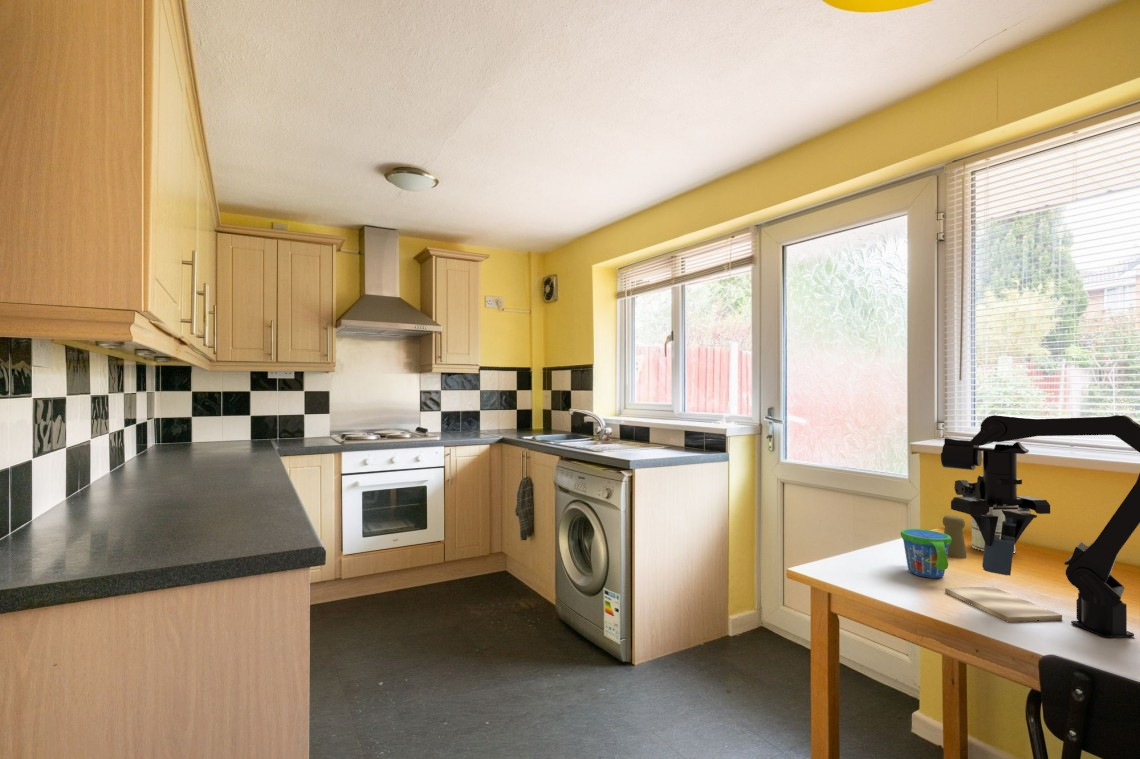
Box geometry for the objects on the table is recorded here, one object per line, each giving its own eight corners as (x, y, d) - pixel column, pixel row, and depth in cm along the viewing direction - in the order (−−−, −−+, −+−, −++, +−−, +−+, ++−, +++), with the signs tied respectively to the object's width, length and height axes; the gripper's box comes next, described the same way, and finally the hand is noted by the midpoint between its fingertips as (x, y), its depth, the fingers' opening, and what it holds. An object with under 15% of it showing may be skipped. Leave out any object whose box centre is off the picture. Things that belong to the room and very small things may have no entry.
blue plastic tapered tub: (891, 562, 147) (891, 524, 147) (936, 566, 144) (936, 527, 144) (913, 582, 132) (913, 540, 132) (964, 587, 129) (963, 543, 129)
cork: (935, 553, 156) (935, 514, 156) (949, 550, 158) (949, 512, 158) (958, 559, 150) (958, 519, 150) (971, 556, 153) (971, 517, 153)
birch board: (1062, 620, 111) (1062, 615, 111) (1008, 622, 110) (1008, 617, 110) (992, 590, 127) (992, 586, 127) (945, 592, 125) (945, 588, 125)
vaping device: (1013, 576, 116) (1020, 520, 117) (985, 571, 117) (991, 515, 118) (1007, 573, 119) (1013, 518, 119) (979, 568, 120) (985, 513, 120)
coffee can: (969, 542, 167) (969, 496, 167) (1012, 548, 161) (1012, 500, 162) (972, 551, 158) (972, 502, 158) (1018, 557, 153) (1018, 506, 153)
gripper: (1005, 467, 128) (1005, 534, 127) (931, 467, 126) (931, 536, 125) (1052, 474, 117) (1052, 548, 116) (972, 475, 115) (972, 550, 114)
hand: (1000, 545), depth 118 cm, fingers closed on vaping device, 5 cm apart
